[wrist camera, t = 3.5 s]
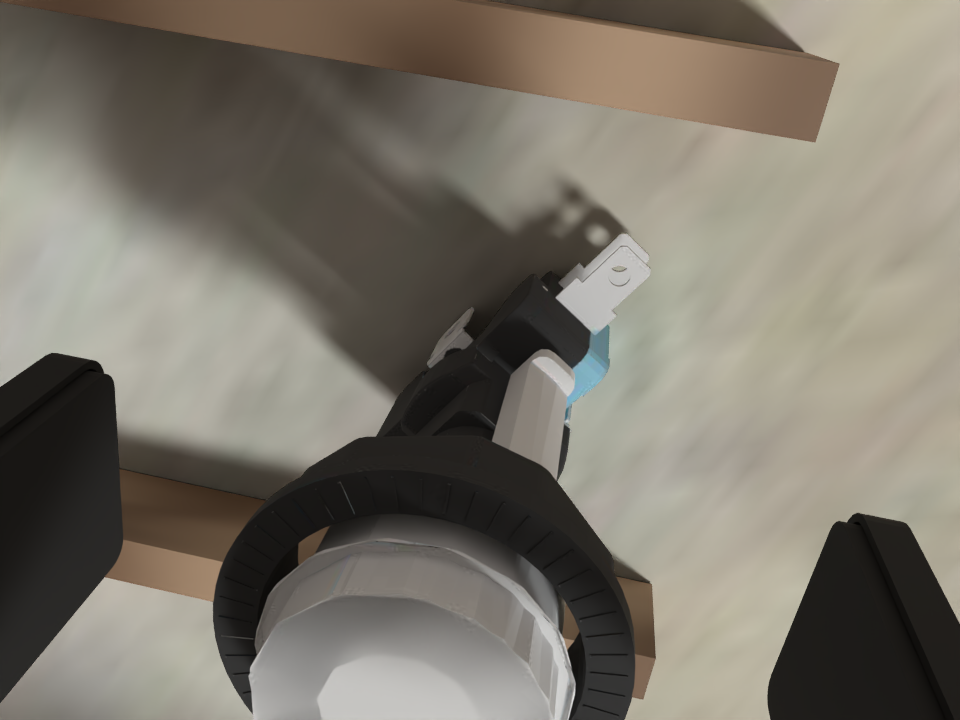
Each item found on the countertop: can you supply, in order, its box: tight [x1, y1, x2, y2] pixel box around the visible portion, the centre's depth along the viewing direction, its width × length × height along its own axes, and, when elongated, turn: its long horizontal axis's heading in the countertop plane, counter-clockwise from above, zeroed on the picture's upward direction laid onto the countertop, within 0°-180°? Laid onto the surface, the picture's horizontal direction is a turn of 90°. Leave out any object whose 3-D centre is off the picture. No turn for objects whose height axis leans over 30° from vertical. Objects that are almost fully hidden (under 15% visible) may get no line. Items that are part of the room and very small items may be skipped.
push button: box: [213, 233, 650, 720], centre depth 14 cm, size 7×5×10 cm
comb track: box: [0, 0, 839, 699], centre depth 16 cm, size 24×14×6 cm, turn 82°
